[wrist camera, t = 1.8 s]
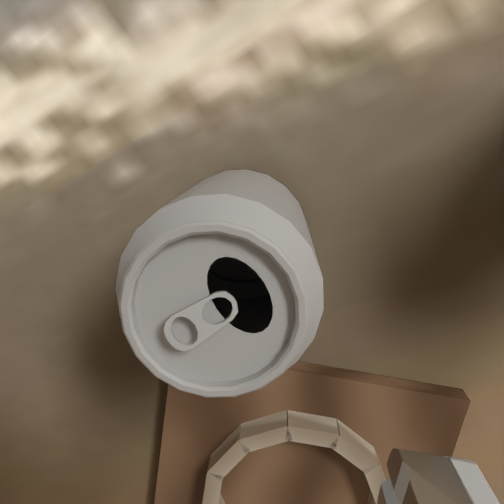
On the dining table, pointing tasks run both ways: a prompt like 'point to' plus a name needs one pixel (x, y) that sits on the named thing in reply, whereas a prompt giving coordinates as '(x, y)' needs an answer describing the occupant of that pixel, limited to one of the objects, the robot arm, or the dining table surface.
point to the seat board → (301, 437)
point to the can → (221, 286)
